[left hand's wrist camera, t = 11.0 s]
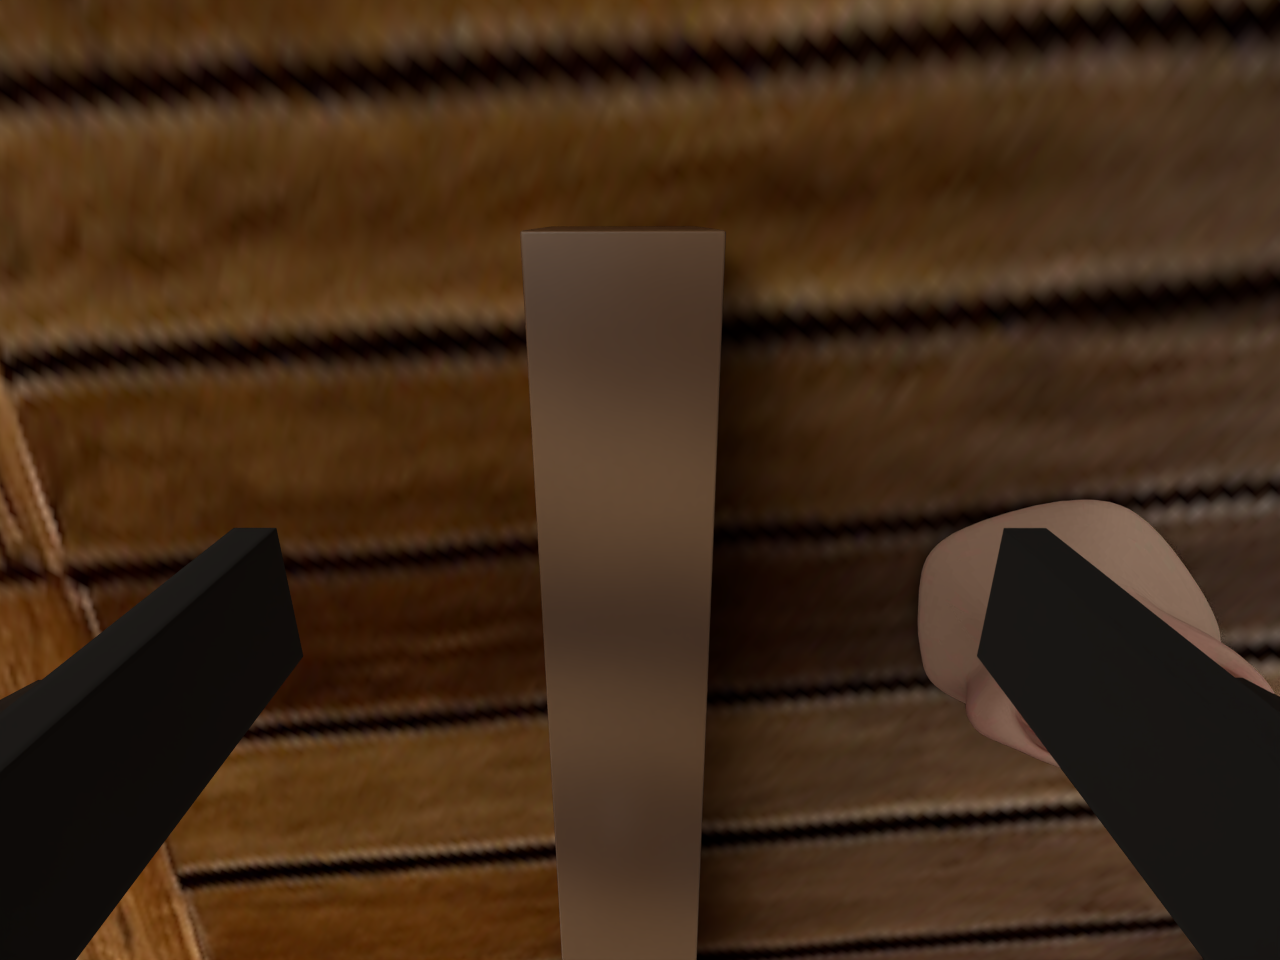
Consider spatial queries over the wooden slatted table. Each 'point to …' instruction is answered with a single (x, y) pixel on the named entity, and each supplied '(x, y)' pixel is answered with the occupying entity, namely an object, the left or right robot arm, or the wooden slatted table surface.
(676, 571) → the bar
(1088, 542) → the anatomical model
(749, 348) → the wooden slatted table surface
